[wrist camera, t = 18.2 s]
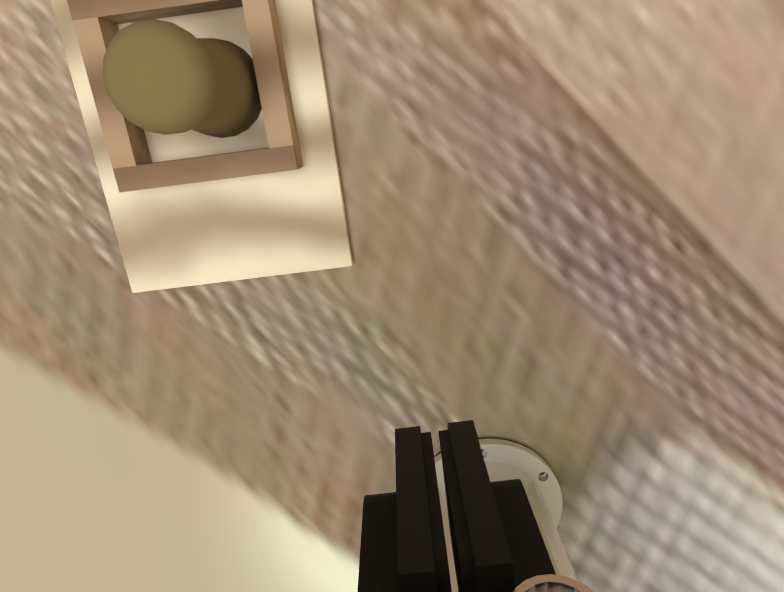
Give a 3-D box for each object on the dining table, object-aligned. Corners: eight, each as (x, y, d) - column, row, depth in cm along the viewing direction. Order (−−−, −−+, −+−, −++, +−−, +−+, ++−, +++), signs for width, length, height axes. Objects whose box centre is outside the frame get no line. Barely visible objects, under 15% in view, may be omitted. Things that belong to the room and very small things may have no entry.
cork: (224, 17, 34) (151, -28, 24) (283, 102, 36) (240, 94, 25) (151, 76, 35) (51, 58, 25) (212, 156, 37) (142, 170, 26)
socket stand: (352, 262, 40) (349, 275, 37) (138, 288, 41) (116, 303, 37) (305, -49, 34) (296, -67, 31) (54, -13, 35) (19, -27, 31)
